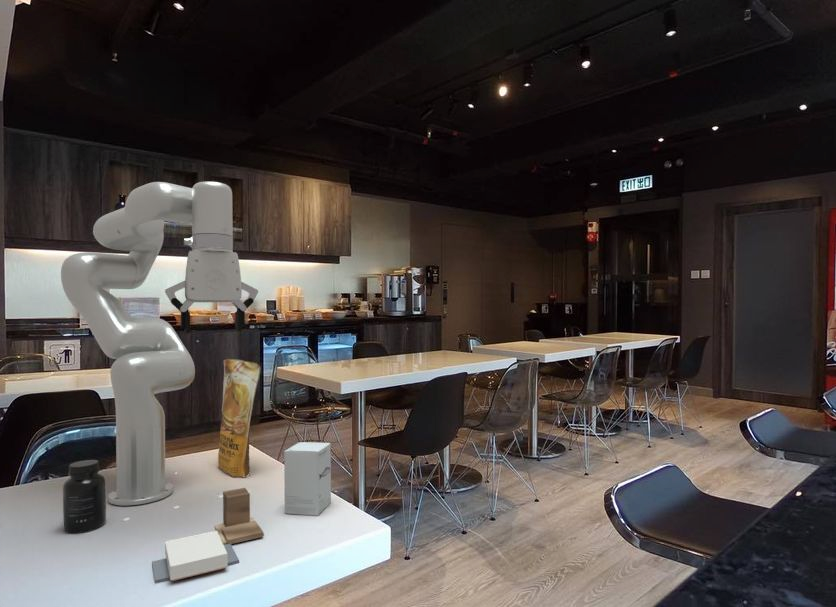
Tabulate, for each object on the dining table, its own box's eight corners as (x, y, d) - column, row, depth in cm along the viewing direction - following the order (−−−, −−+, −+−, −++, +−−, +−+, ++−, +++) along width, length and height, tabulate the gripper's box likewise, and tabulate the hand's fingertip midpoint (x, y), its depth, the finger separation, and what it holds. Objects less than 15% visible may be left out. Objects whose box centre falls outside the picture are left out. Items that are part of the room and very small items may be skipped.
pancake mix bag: (236, 459, 143) (235, 357, 144) (264, 475, 128) (263, 361, 129) (211, 464, 139) (210, 359, 139) (236, 481, 124) (235, 363, 125)
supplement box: (318, 516, 102) (317, 451, 102) (283, 514, 104) (282, 450, 104) (332, 502, 109) (331, 442, 110) (299, 500, 111) (298, 441, 111)
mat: (152, 564, 83) (152, 561, 83) (230, 546, 90) (230, 543, 90) (155, 583, 77) (155, 580, 77) (239, 562, 83) (239, 560, 83)
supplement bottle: (67, 523, 101) (67, 460, 101) (108, 517, 103) (108, 456, 104) (59, 537, 94) (58, 470, 95) (102, 530, 97) (102, 465, 97)
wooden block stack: (217, 524, 98) (217, 492, 98) (250, 517, 101) (250, 486, 101) (227, 544, 89) (227, 509, 89) (263, 536, 92) (263, 502, 93)
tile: (165, 541, 86) (170, 566, 77) (216, 530, 90) (227, 553, 81) (165, 555, 85) (170, 582, 77) (216, 544, 89) (227, 568, 81)
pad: (214, 526, 98) (214, 525, 98) (252, 518, 101) (252, 517, 101) (223, 544, 90) (223, 543, 90) (264, 535, 94) (264, 533, 94)
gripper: (166, 240, 96) (167, 333, 96) (261, 245, 105) (262, 330, 105) (163, 245, 103) (163, 332, 103) (252, 249, 112) (253, 330, 111)
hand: (213, 331), depth 104 cm, fingers open, 9 cm apart
